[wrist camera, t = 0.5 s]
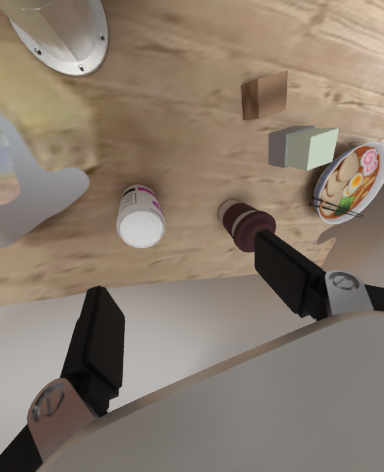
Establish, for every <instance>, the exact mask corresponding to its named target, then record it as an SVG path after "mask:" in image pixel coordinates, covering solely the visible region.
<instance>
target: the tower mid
mask: <svg viewBox="0 0 384 472" xmlns="http://www.w3.org/2000/svg"><path fill="white" fill-rule="evenodd" d="M338 131H339V128H312V129H309V130H306V131H303V132H300V133H297V134H293V135H290V136H288V142H287V158H286V166H289V167H294V168H298V169H302V170H310V169H313V168H316V167H318V166H321V165H324V164H327V163H330V162H332V161H333V156H334V151H335V146H336V141H337V136H338Z"/></svg>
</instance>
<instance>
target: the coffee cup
mask: <svg viewBox="0 0 384 472" xmlns="http://www.w3.org/2000/svg"><path fill="white" fill-rule="evenodd" d="M218 217H219V219H220V221H221V222H222V223H223V226H224V227H225V229H226V230H227V231H228V233H229V234H230V235H231V237H232V238H233V239H234V243H235V244H236V246H237V247H238V248H239V249H240V250H242V251H244V252H255V235H256V234H257V232H258V231H261V230H264V229H268V230H269V231H271V232H272V233H273V234H274V233H275V230H276V223H275V220H274V218H273V217H272V216H271V215H269V214H268V213H266V212H263V211H258V210H257V209H255V208H253V207H251V206H249V205H247V204H244V203H241V202H239V201H237V200H228V201H226V202H225V203H223V204H222V206H221V207H220V209H219V212H218Z"/></svg>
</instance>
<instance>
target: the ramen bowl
mask: <svg viewBox="0 0 384 472" xmlns="http://www.w3.org/2000/svg"><path fill="white" fill-rule="evenodd" d="M383 183H384V143H380V142H375V141H372V142H369V143H367V144H364V145H361V146H358V147H355V148H352V149H350V150H348V151H346V152H344V153H343V154H342V155H340V156H339V157H338V158H336V159H335V160H334V161H333V162H331V163H330V164H329V165H328V167H327V168H326V169H325V170H324V172H323V173H322V174H321V176H320V178H319V180H318V182H317V184H316V187H315V191H314V197H313V198H312V199H314V204H312V203H309V206H313V207H316V210H317V213H318V215H319V217H320V218H321V219H322V220H323V221H325V222H326V223H327V224H340V223H342V222H345V221H347V220H350V219H351V218H352V217H354V216H356V215H357V214H358V213H359V212H361V211H362V210H363V209H364V208H365V207H366V206H367V205H368V204H369V203H370V202H371V200H373V198H374V197H375V196H376V194H377V193H378V191H379V189H380V188H381V186H382V185H383ZM357 217H358V216H357Z"/></svg>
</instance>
